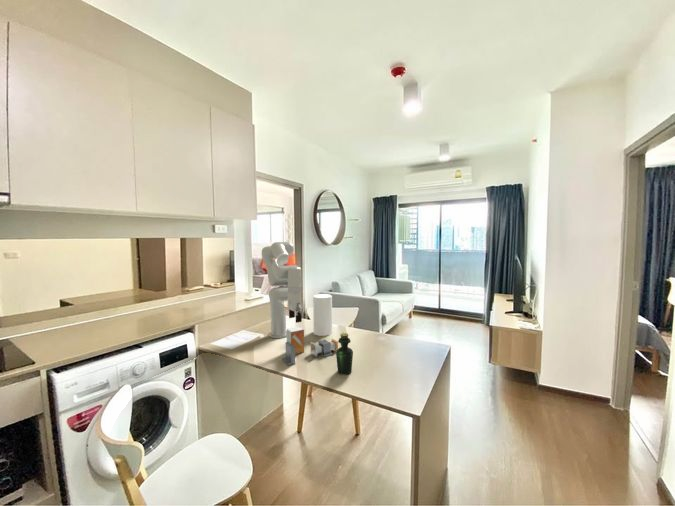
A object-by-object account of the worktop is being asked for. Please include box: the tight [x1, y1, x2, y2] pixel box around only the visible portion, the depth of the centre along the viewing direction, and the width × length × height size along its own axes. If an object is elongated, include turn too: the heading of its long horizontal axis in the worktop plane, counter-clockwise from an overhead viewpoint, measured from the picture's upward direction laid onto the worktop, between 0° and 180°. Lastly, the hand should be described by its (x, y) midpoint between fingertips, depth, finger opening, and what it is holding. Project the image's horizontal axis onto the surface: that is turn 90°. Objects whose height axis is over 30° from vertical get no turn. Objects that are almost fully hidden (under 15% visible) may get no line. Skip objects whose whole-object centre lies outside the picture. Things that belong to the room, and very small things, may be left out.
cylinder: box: [312, 293, 333, 337], centre depth 189 cm, size 12×12×25 cm
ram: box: [310, 338, 339, 358], centre depth 156 cm, size 6×14×6 cm, turn 121°
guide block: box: [317, 339, 333, 358], centre depth 156 cm, size 9×5×6 cm, turn 31°
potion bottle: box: [335, 332, 354, 376], centre depth 134 cm, size 8×8×18 cm
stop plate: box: [281, 341, 296, 367], centre depth 145 cm, size 8×4×9 cm, turn 31°
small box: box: [286, 326, 305, 355], centre depth 158 cm, size 8×6×13 cm
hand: (295, 319), depth 157 cm, fingers open, 9 cm apart
